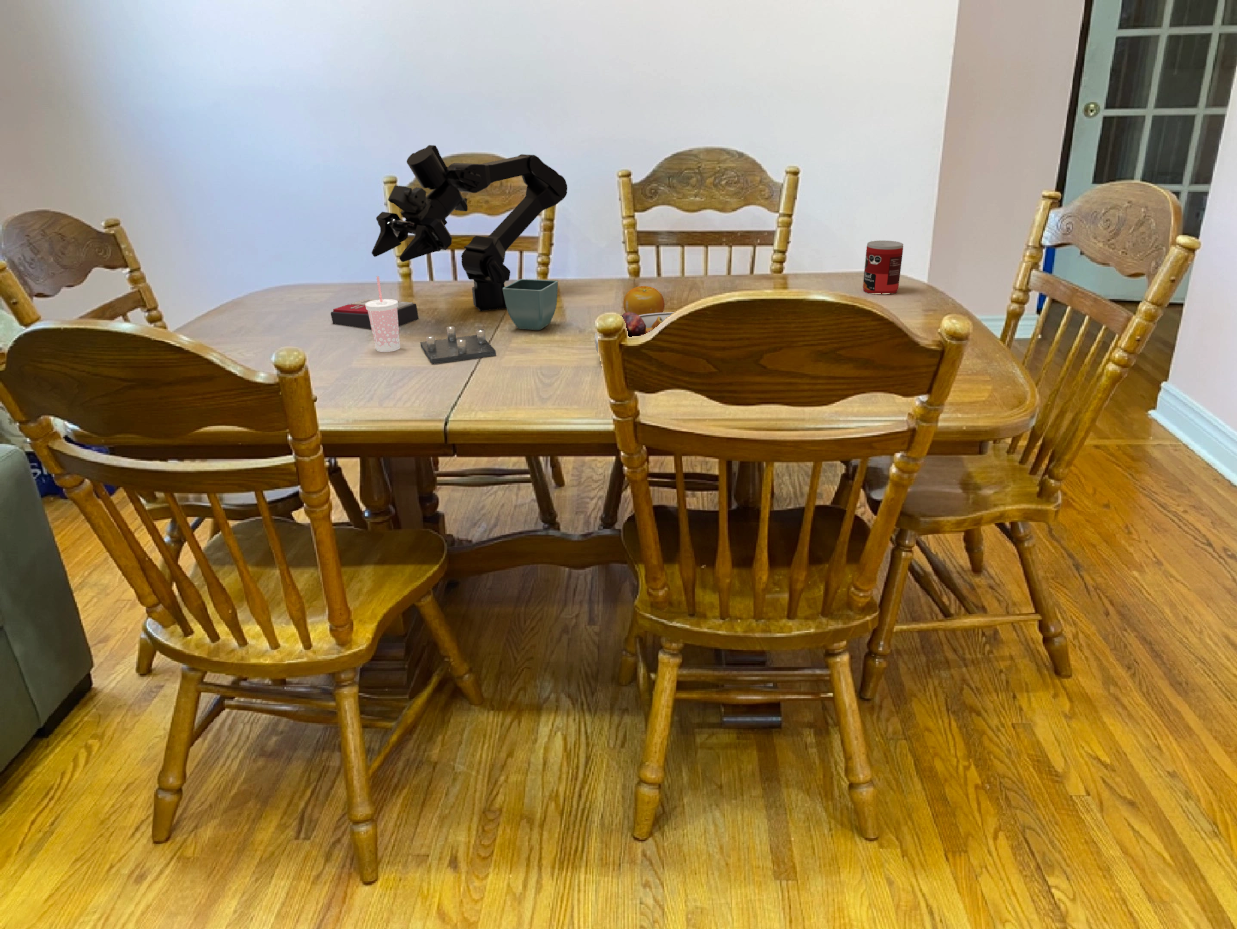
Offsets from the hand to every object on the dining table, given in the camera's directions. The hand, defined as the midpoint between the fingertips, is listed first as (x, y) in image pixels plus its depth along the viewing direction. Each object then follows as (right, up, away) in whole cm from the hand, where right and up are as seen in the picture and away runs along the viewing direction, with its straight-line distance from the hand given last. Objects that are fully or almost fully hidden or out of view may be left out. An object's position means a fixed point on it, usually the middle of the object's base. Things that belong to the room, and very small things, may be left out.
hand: (386, 257), depth 167 cm
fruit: (+51, -10, +12) cm, 54 cm away
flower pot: (+28, -13, +9) cm, 32 cm away
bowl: (+57, -22, -12) cm, 62 cm away
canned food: (+107, -1, +30) cm, 111 cm away
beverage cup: (+1, -19, -3) cm, 19 cm away
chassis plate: (+15, -19, -6) cm, 25 cm away
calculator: (-7, -10, +16) cm, 20 cm away
